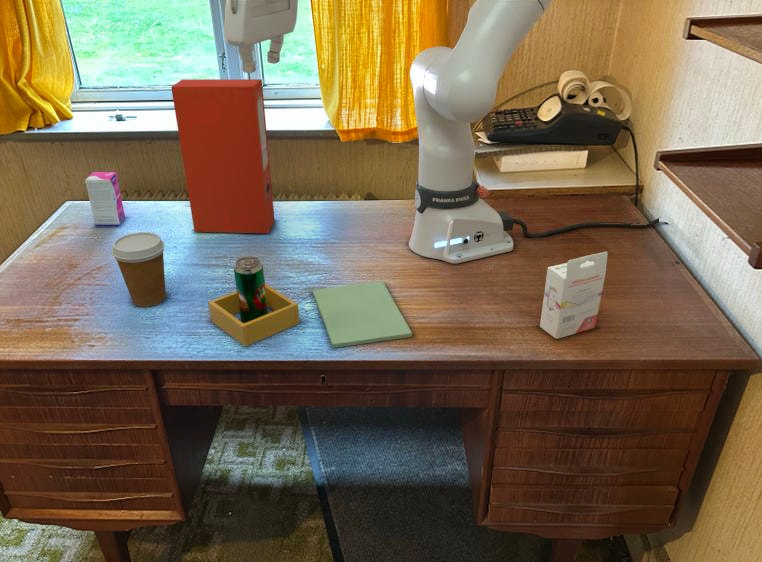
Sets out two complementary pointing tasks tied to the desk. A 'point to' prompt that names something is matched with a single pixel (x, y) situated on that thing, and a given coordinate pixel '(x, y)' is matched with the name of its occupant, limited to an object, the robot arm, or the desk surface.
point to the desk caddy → (259, 327)
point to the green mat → (360, 314)
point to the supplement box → (105, 199)
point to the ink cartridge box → (573, 295)
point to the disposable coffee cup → (142, 267)
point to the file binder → (225, 154)
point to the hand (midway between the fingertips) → (261, 67)
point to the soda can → (250, 288)
